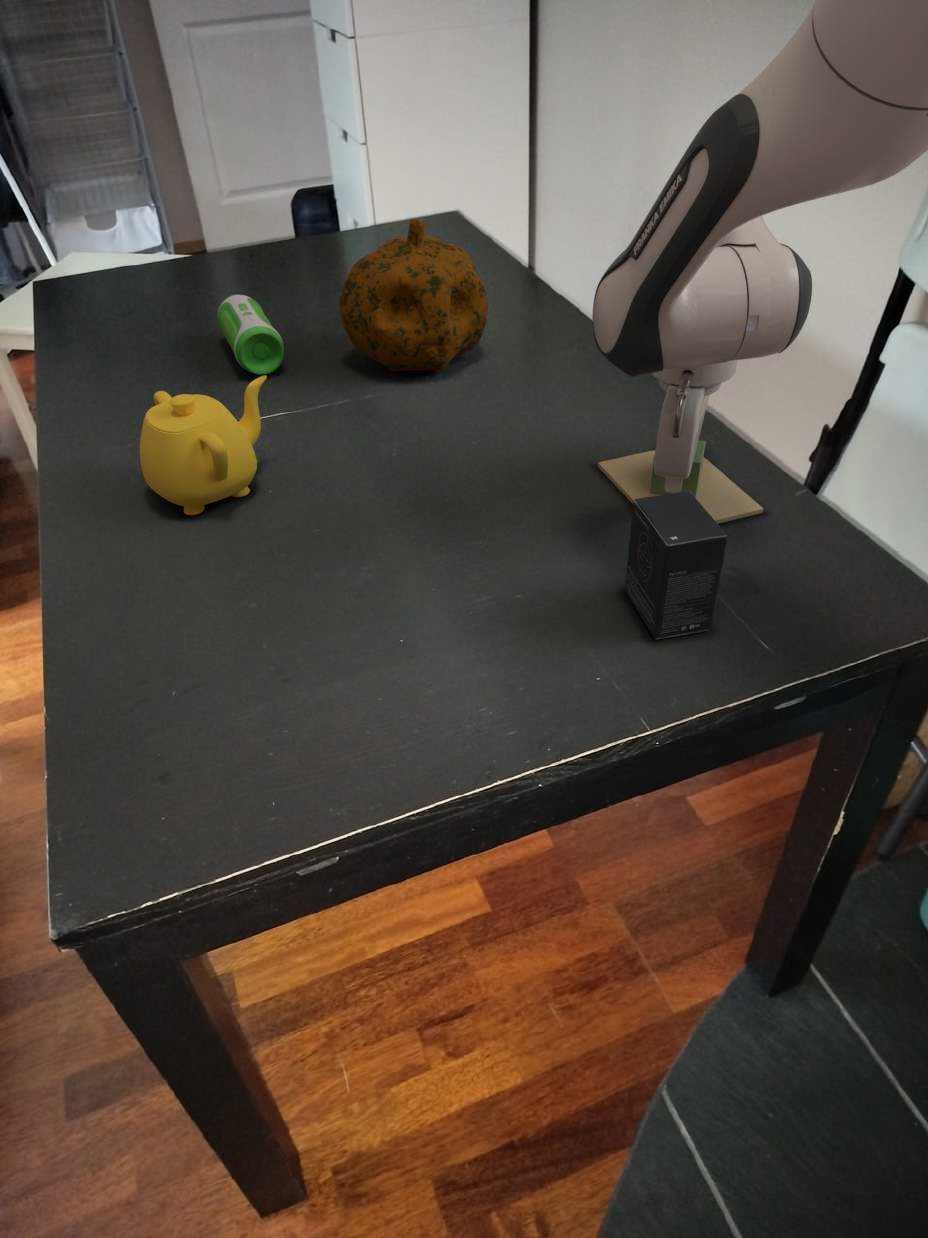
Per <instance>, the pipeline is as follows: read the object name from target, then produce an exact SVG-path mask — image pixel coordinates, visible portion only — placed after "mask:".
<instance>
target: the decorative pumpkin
mask: <svg viewBox="0 0 928 1238" xmlns="http://www.w3.org/2000/svg"><path fill="white" fill-rule="evenodd" d="M408 224H409V225H408V231H407V238H405V237H395V238H393V239H389V240H386V241H385V242H384V243H383V244H381V245H380V246H379V247H378V248H377V249H376V250H375V251H373V252H371V253H368V254H367V255H365V256H363V257H361V258H360V259H359V260H357V262H356V263H355V264H354V265H352V267H351V269H350V271H349V273H348V274H347V275H346V278H345V280H344V282H343V285H342V288H341V291H340V295H339V302H338V304H339V306H338V308H339V314H340V321H341V323H342V326H343V328H344V331H345V333H346V335H347V337H348V340H349V341H350V343H351V345H353V346H354V347H355V348H356V349H357V350H358V351H359V352H360V353H362V355H364V356H366V357H367V358H369V359H370V360H373V361H375V362H378V363H379V364H381V365H383V366H384V367H385V369H387V370H389V371H392V372H405V371H427V372H429V371H430V372H439V371H442V370H444V369H445V368H446V367H447V366H448V365H449V363H450V362H451V361H452V360H453V359H454V358H455V357H458V356H460V355H463V354H466V352H468V351H470V350H473V349H474V348H475V347H476V346H477V345H478V344H479V342H480V340H481V338H482V337H483V332H484V330H485V328H486V325H487V322H488V320H487V319H488V314H489V304H488V303H489V302H488V296H487V290H486V286H485V284H484V282H483V280H482V279H481V277H480V276H479V274H478V272H477V269H476V266H475V263H474V260H472V258H471V256H470V255H469V254H468V253H467V252H466V251H465V250H464V249H463V248H462V247H460V246H459V245H457V244H455V243H451V242H446V241H443V240H441V239H438V238H436V237H434V236H431V235H428V234H424V232H425V222H424V221H423V219H420V218H417V219H416V218H412V219H410V220H409V223H408Z"/></svg>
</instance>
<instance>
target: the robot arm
mask: <svg viewBox="0 0 928 1238" xmlns="http://www.w3.org/2000/svg"><path fill="white" fill-rule="evenodd" d="M927 151H928V0H815V1H814V3H813V5H812V6H811V8H810V10H809V12H808V13H807V15H806V17H805V18H804V20H803V21H802V23H801V24H800V26H799V27H798V28H797V29H796V31H795V32H794V34H793V35H792V36H791V38H790V39H789V40H788V42H787V43H786V44H785V45H784V46H783V48H782V49H781V50H780V51H779V52H778V54H776V56H775V57H774V58H773V59H772V60H771V61H770V62H769V64H768V65H767V66H766V67H765V68H764V69H763V70H762V71H761V72H759V74H757V76H756V77H754V79H753V80H751V82H749V83H748V84H747V85H746V86H745V87H744V88H743V89H742V90H740V91H739V93H737V94H736V95H734V96H733V97H731V98H730V99H729V100H727V101H726V102H724V103H723V104H722V105H721V106H720V107H718V108H717V109H715V110H714V112H713V113H711V115H710V116H709V117H708V118H707V120H706V121H705V122H704V123H703V124H702V126H701V127H700V129H699V130H698V132H697V133H696V134H695V136H694V138H693V139H692V141H691V142H690V144H689V145H688V147H687V148H686V150H685V152H684V153H683V155H682V157H681V158H680V159H679V162H678V164H677V165H676V166H675V168H674V169H673V172H672V173H671V175H669V178H668V180H667V182H666V183H665V184H664V186H663V188H662V190H661V191H660V192H659V195H658V196H657V198H656V200H655V202H654V203H653V205H652V207H651V208H650V210H649V212H648V213H647V215H646V216H645V218H644V220H643V221H642V223H641V225H640V226H639V228H638V230H637V232H636V233H635V235H634V236H633V239H632V240H631V241H630V243H629V244H628V245H627V247H626V248H625V249H624V250H623V251H622V252H621V253H620V254H619V255H618V256H617V257H616V258H615V259H614V260H613V262H612V263H611V264H610V265H609V266H608V268H607V269H606V270H605V271H604V273H603V274H602V276H601V278H600V280H599V282H598V283H597V287H596V289H595V293H594V297H593V303H592V330H593V337H594V341H595V344H596V345H595V346H596V347H597V349H598V351H599V352H600V354H602V356H603V357H604V358H605V359H606V360H607V361H608V362H610V363H611V364H612V365H613V366H614V367H616V368H617V369H618V370H620V371H622V372H623V373H625V374H626V375H628V376H630V377H631V378H632V377H638V376H644V375H648V374H651V376H653V377H654V378H656V379H658V386H659V388H661V389H662V390H663V391H664V392H666V394H665V396H664V400H663V403H662V406H661V411H660V415H659V419H658V420H659V421H658V422H659V423H658V429H657V435H656V441H655V442H656V443H655V449H654V450H655V458H654V472H655V474H656V475H658V476H662V477H666V479H665V488H664V489H665V491H666V492H670V493H679V492H681V489H682V485H683V479H686V478H688V476H689V475H690V472H691V468H692V464H693V460H694V456H695V452H696V448H697V444H698V440H699V439H700V435H701V431H702V427H703V423H704V420H705V415H706V412H707V407H708V404H709V399H710V396H711V395H712V394H715V393H716V392H718V390H720V388H721V385H722V384H723V383H725V382H727V381H729V380H731V379H732V378H733V377H734V376H735V374H736V372H737V366H738V361H742V360H751V359H757V358H758V359H759V358H765V357H768V356H772V355H776V354H781V353H783V352H784V351H785V350H787V349H788V348H789V347H790V346H791V345H792V343H794V341H795V340H796V339H797V337H798V336H799V334H800V332H801V331H802V329H803V327H804V325H805V323H806V321H807V318H808V315H809V313H810V309H811V303H812V295H813V277H812V272H811V270H810V268H809V267H808V266H807V264H806V263H805V261H804V259H803V258H802V257H801V256H800V255H799V254H798V252H796V251H795V250H794V249H793V248H791V247H790V246H789V245H786V244H784V243H781V242H779V240H778V239H777V238H776V236H774V234H773V233H772V232H771V230H770V228H769V226H768V225H767V223H766V222H765V220H764V217H763V216H766V215H768V214H771V213H774V212H776V211H779V210H783V209H786V208H789V207H792V206H796V205H799V204H803V203H808V202H812V201H814V200H817V199H822V198H826V197H830V196H834V195H838V194H842V193H847V192H850V191H855V190H858V189H862V188H865V187H869V186H872V185H875V184H877V183H880V182H882V181H883V182H884V181H885V180H888V179H890V178H891V177H893V176H895V175H897V174H899V173H900V172H902V171H903V170H906V168H908V167H909V166H911V165H912V164H913V163H914V162H915V161H916V160H918V159H919V158H920V157H921V156H923V155H924V154H925V153H926V152H927Z"/></svg>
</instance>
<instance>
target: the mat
mask: <svg viewBox="0 0 928 1238" xmlns="http://www.w3.org/2000/svg"><path fill="white" fill-rule="evenodd" d="M655 450H656V449H653V450H649V451H644V452H639V453H634V454H629V455H626V456H620V457H617V458H612V459H608V460H604V461H599V462H597V468H598V469H599V470H600V471H601V472H602V473H603V474H604V475H605V476H606V477H607V478H608V479H609V481H611V483H612V484H613V485H614V486H615V487H616V488H617V489H618V490H619V492H621V493H622V494H623V496H624V497H625V498H626V499H627V500H628V501H629V502H630V503H631V504H632V505H633V501H634V500H635V499H638V498H645V497H652V496H659V495H663V494H655V493H650V488H651V479H652V469H653V460H654V455H655ZM696 499H697V500H698V501H699V502H700V504H701V505H702V506H703V507H704V508H705V509H706V511H707V512H708V513H709V514H710V515H711V517H712V518H713V519H714V520H715V521H716V522H717V524H718V525H719V524H722V523H727V522H731V521H735V520H739V519H743V518H744V519H745V518H747V517H748V518H749V517H752V516H755V515H759V514H763V513H764V507H762V506H761V505H760V504H759V503H758V502H757V501H756V500H754V499H753V498H752V497H751V496H750V495H748V494H747V492H745V491H744V490H743V489H741V487H739V486H738V485H737V484H736V483H735V482H733V481H732V480H731V478H729V477H727V476H726V475H725V473H724V472H722V471H721V470H720V469H718V468H717V467H716V465H714V464H713V463H711V461H709V460H708V459H707V458H706V457H703V464H702V470H701V477H700V481H699V486H698V490H697V494H696Z"/></svg>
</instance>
